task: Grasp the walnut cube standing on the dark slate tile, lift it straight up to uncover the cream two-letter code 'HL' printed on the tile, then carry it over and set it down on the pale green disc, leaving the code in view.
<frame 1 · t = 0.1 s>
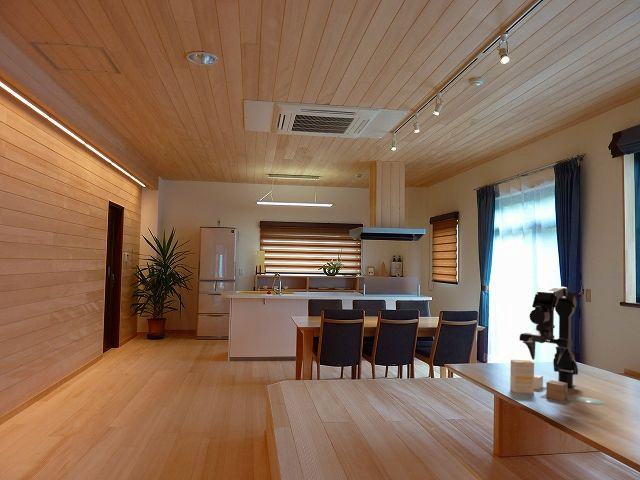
hand: (544, 361, 194), 14 cm above the table, fingers open, 9 cm apart
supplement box: (521, 393, 200), on the table
walnut block: (556, 397, 193), resting on code tile
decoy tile: (534, 388, 208), on the table
pale green disc: (590, 402, 190), on the table
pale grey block: (534, 387, 208), resting on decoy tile
code tile: (556, 399, 193), on the table
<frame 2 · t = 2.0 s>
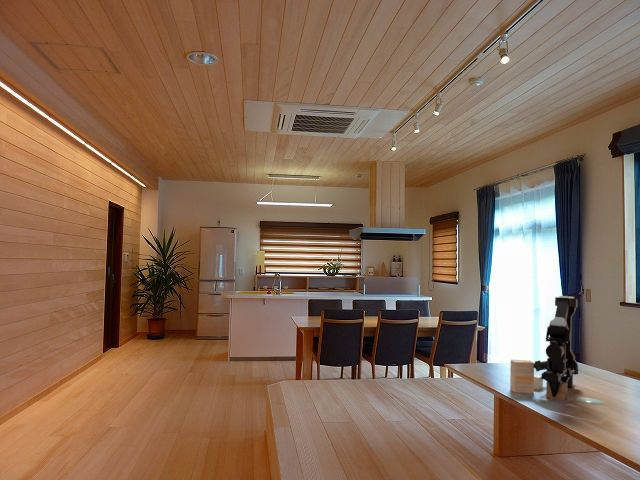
hand: (556, 395, 193), 1 cm above the table, fingers closed on walnut block, 6 cm apart
walnut block: (556, 397, 193), resting on code tile, touching gripper
everything else where it was.
when the fingers open (3 cm above the table, at t = 6.5 s): walnut block drops 1 cm, resting on pale green disc.
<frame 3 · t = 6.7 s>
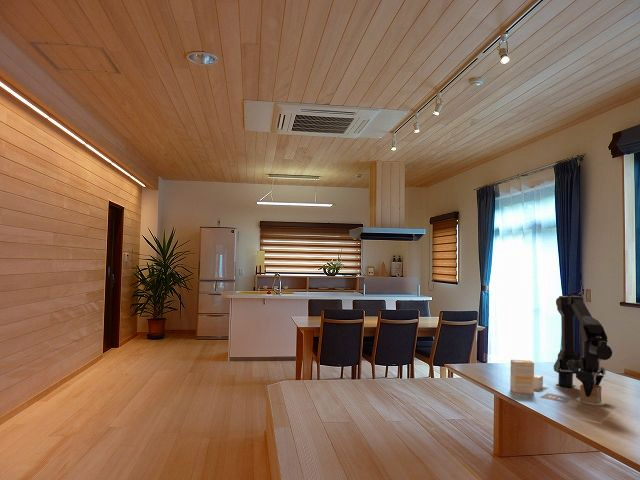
hand: (590, 394, 191), 3 cm above the table, fingers open, 8 cm apart
walnut block: (590, 401, 190), resting on pale green disc
everything else where it was.
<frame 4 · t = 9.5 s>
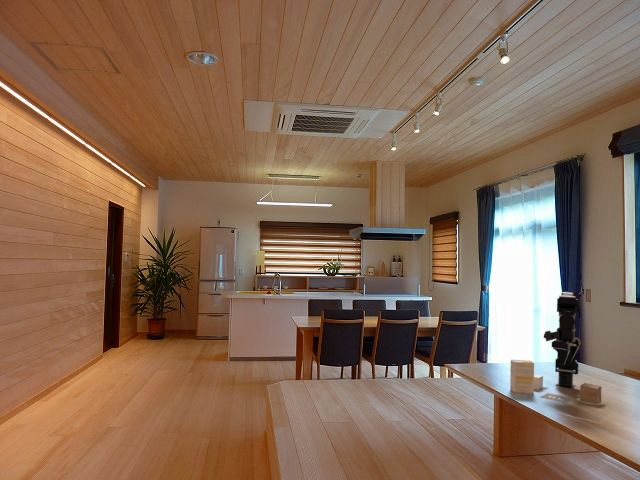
hand: (566, 363, 201), 13 cm above the table, fingers open, 9 cm apart
nothing on the table moved.
at the end: walnut block 0.1 cm from the pale green disc (horizontally); walnut block resting on pale green disc; walnut block tilted 0° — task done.
